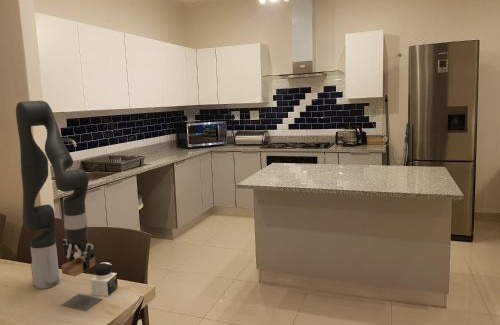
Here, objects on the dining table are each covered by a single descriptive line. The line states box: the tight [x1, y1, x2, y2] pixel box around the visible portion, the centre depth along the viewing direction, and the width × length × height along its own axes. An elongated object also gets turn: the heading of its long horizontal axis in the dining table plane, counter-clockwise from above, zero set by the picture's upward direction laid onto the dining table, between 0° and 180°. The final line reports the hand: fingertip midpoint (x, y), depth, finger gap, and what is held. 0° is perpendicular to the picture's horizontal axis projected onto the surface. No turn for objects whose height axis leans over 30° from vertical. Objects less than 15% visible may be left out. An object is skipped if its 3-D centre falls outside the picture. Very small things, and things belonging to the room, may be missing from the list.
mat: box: [60, 293, 104, 312], centre depth 149 cm, size 12×9×1 cm
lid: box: [61, 255, 96, 277], centre depth 146 cm, size 6×10×4 cm, turn 159°
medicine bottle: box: [90, 262, 119, 297], centre depth 156 cm, size 7×7×12 cm
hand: (79, 268), depth 146 cm, fingers closed on lid, 6 cm apart
